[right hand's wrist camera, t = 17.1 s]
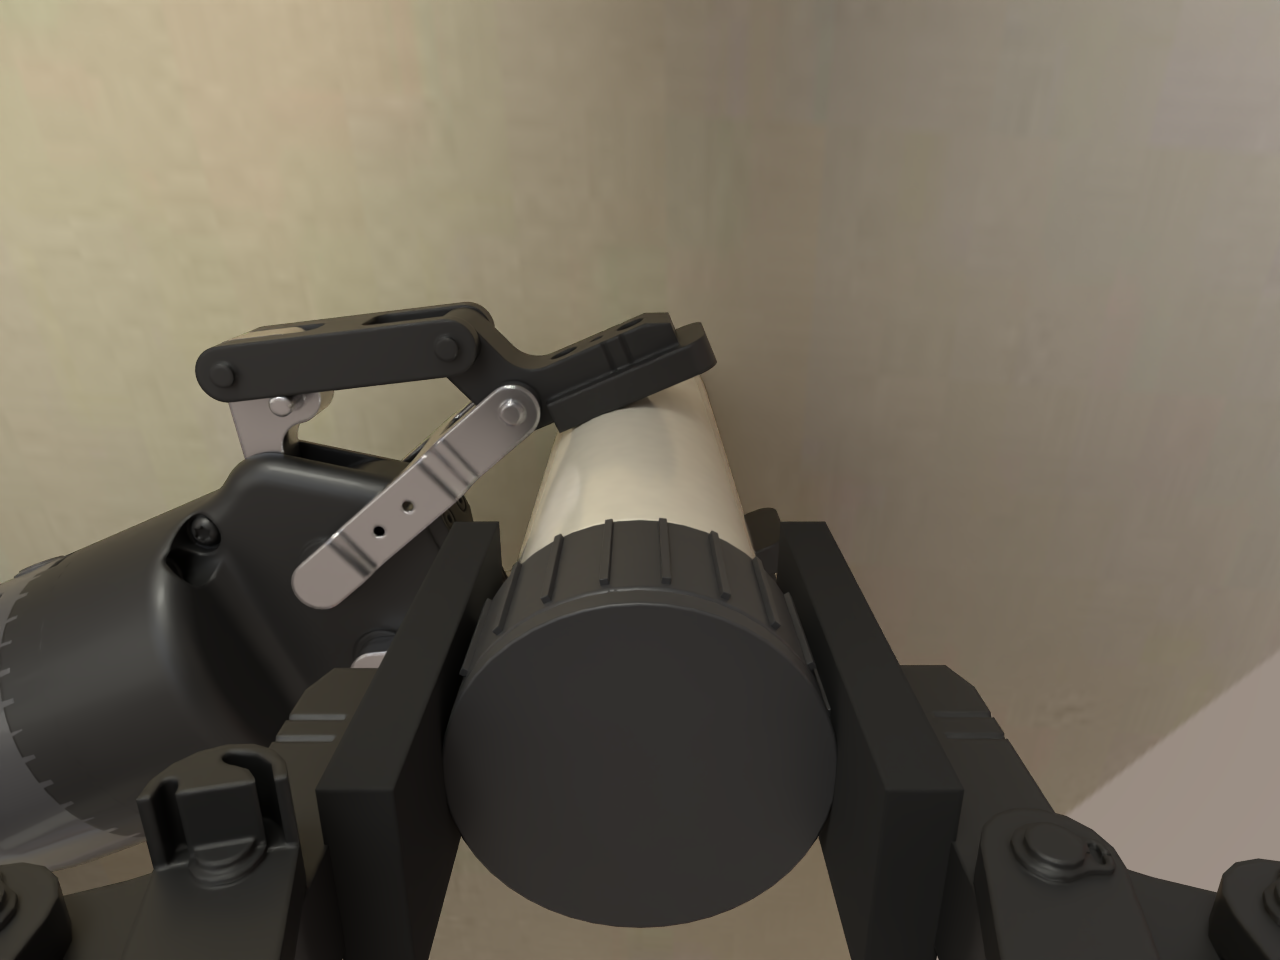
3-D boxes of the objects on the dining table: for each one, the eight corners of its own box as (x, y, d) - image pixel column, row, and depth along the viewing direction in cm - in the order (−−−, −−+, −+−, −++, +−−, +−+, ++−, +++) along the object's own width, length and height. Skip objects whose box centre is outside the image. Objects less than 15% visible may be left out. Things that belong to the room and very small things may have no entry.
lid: (483, 491, 12) (443, 572, 9) (839, 533, 12) (887, 622, 9) (463, 783, 13) (426, 913, 11) (774, 815, 13) (802, 949, 11)
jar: (731, 440, 26) (854, 798, 11) (607, 498, 27) (569, 909, 12) (670, 315, 25) (719, 533, 10) (542, 379, 26) (407, 674, 11)
